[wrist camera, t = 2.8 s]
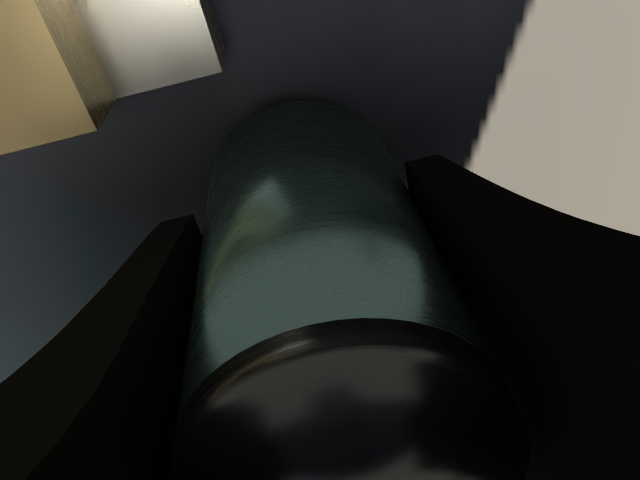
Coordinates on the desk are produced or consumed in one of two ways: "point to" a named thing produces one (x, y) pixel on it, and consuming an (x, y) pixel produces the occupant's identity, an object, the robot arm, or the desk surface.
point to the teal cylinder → (331, 322)
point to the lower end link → (152, 41)
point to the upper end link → (48, 75)
